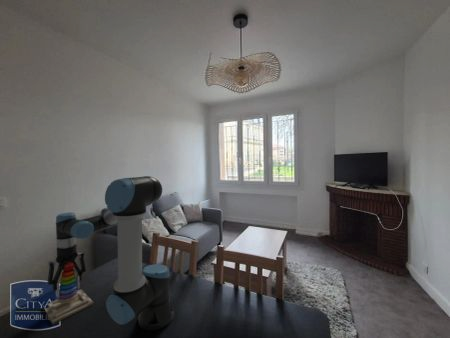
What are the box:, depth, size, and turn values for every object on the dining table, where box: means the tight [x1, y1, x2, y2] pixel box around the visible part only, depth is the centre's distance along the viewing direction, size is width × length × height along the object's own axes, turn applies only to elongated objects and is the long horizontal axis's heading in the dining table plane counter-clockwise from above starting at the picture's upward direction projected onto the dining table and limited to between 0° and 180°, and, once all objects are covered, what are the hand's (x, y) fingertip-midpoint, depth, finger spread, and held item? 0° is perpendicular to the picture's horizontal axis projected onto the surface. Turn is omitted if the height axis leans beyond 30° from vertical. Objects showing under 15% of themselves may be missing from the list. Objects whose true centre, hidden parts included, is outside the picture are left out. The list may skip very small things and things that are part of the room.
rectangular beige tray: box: [42, 289, 94, 326], centre depth 101 cm, size 16×16×2 cm
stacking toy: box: [57, 262, 78, 303], centre depth 100 cm, size 8×8×19 cm
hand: (68, 291), depth 101 cm, fingers closed on stacking toy, 7 cm apart
